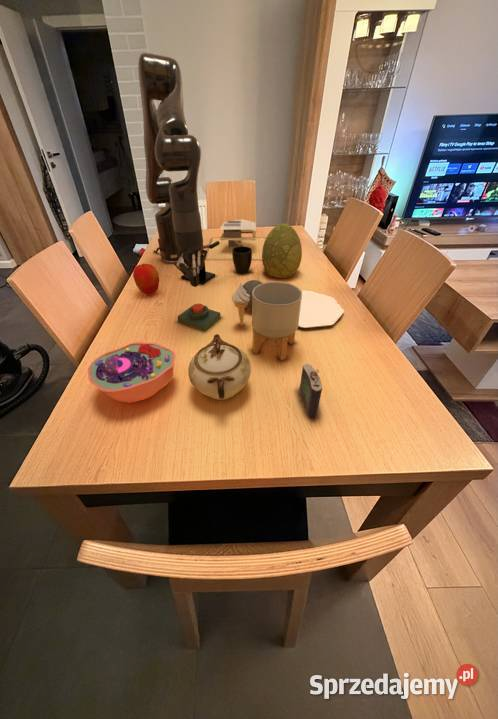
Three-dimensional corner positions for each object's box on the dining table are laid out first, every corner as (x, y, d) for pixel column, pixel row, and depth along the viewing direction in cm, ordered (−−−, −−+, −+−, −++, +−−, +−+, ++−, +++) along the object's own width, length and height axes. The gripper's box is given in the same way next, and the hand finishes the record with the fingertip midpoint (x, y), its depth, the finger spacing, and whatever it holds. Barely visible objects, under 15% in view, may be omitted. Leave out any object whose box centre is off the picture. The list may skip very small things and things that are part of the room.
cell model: (184, 403, 72) (177, 368, 65) (95, 422, 68) (77, 387, 60) (176, 360, 84) (169, 326, 77) (101, 373, 80) (86, 339, 73)
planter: (245, 339, 92) (244, 286, 80) (283, 330, 95) (287, 278, 84) (262, 365, 83) (264, 309, 71) (303, 354, 86) (311, 299, 75)
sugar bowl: (256, 415, 69) (256, 367, 59) (190, 422, 68) (180, 374, 58) (246, 360, 84) (245, 315, 74) (192, 365, 83) (184, 319, 73)
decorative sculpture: (271, 262, 137) (273, 216, 124) (305, 269, 131) (311, 221, 118) (254, 276, 126) (255, 226, 113) (291, 284, 120) (296, 233, 107)
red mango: (153, 300, 110) (146, 269, 103) (132, 297, 113) (124, 266, 105) (166, 289, 117) (160, 259, 109) (146, 286, 119) (139, 256, 111)
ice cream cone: (252, 322, 99) (252, 280, 89) (246, 331, 95) (246, 288, 85) (236, 319, 100) (235, 277, 91) (230, 328, 96) (228, 285, 87)
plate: (292, 289, 117) (293, 285, 116) (351, 306, 107) (352, 303, 106) (259, 315, 102) (259, 311, 101) (323, 338, 92) (323, 334, 91)
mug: (251, 264, 136) (252, 243, 130) (251, 275, 126) (252, 253, 120) (233, 264, 136) (233, 242, 130) (232, 275, 127) (231, 253, 120)
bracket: (215, 276, 126) (212, 243, 117) (202, 285, 120) (198, 250, 111) (194, 271, 130) (190, 238, 121) (181, 279, 124) (175, 245, 115)
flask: (297, 390, 75) (302, 357, 68) (308, 389, 76) (314, 356, 69) (307, 419, 68) (314, 386, 61) (320, 417, 69) (328, 384, 62)
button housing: (178, 322, 99) (176, 311, 97) (194, 309, 105) (193, 299, 103) (205, 331, 95) (203, 320, 93) (220, 318, 101) (220, 307, 99)
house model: (269, 259, 140) (270, 232, 132) (205, 259, 140) (203, 232, 132) (267, 238, 162) (268, 214, 155) (212, 238, 163) (210, 213, 155)
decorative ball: (272, 311, 104) (274, 285, 98) (246, 317, 101) (246, 290, 95) (260, 298, 111) (261, 273, 105) (235, 304, 108) (234, 278, 102)
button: (190, 311, 97) (190, 307, 96) (197, 307, 100) (196, 302, 99) (199, 314, 96) (199, 310, 95) (206, 309, 98) (205, 305, 97)
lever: (220, 245, 113) (218, 239, 112) (213, 250, 110) (210, 243, 109) (197, 250, 120) (195, 244, 119) (189, 254, 117) (187, 248, 116)
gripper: (191, 218, 87) (198, 274, 98) (160, 231, 78) (171, 291, 89) (213, 222, 84) (217, 279, 95) (182, 236, 75) (191, 297, 86)
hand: (195, 285), depth 92 cm, fingers closed
